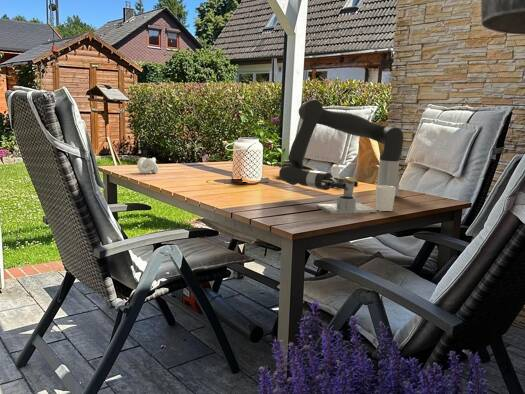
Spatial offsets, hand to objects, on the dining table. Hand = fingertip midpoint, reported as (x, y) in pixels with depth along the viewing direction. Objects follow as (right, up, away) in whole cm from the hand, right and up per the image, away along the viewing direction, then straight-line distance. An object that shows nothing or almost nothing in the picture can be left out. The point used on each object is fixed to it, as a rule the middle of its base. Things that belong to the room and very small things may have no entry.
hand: (351, 185), depth 199 cm
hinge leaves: (-2, -10, +3) cm, 11 cm away
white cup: (+14, -11, +5) cm, 19 cm away
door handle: (-43, +3, +70) cm, 82 cm away
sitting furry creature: (+2, +1, +63) cm, 63 cm away
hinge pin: (-2, -9, +3) cm, 9 cm away
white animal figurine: (-103, +9, +87) cm, 135 cm away
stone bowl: (-16, +6, +91) cm, 93 cm away
